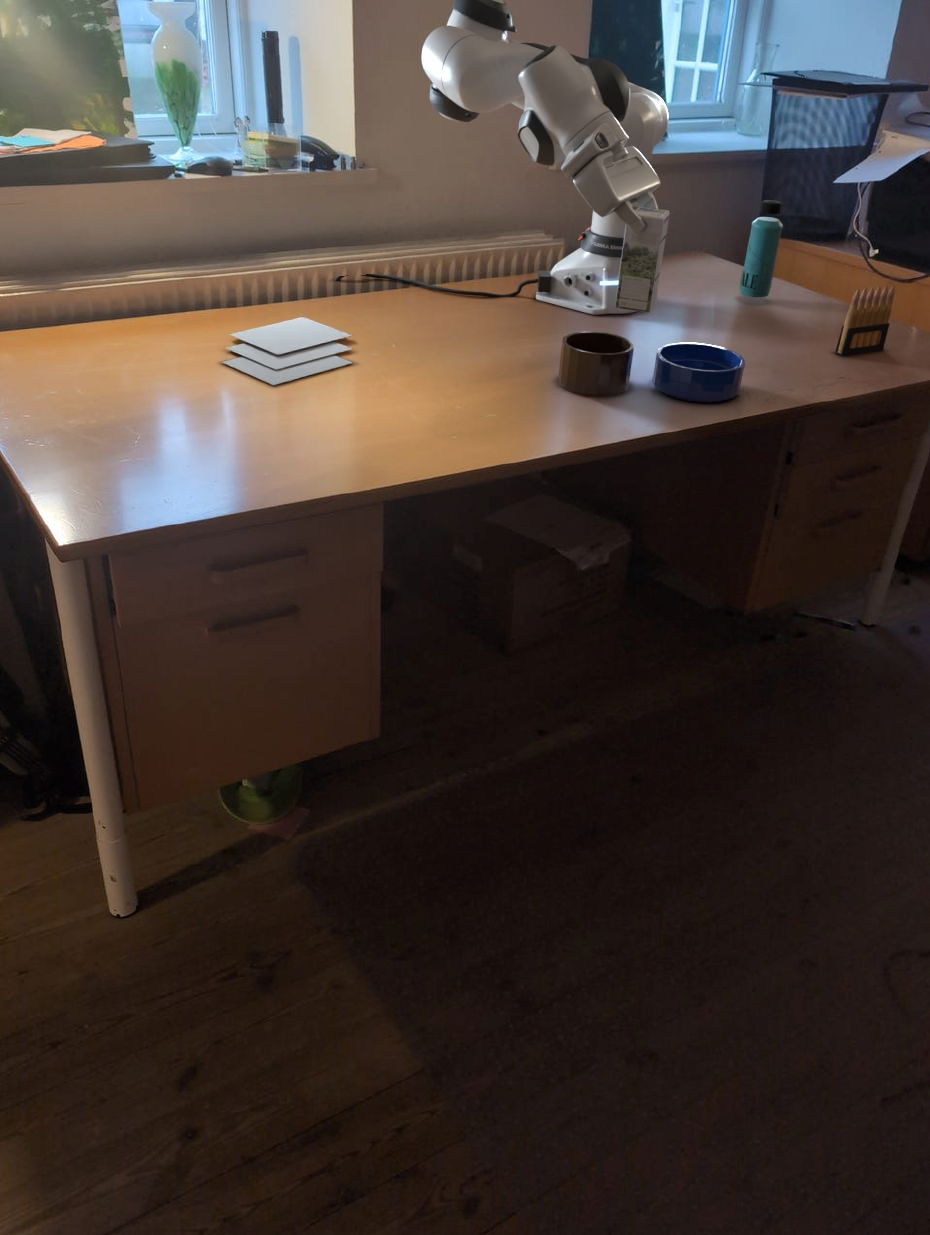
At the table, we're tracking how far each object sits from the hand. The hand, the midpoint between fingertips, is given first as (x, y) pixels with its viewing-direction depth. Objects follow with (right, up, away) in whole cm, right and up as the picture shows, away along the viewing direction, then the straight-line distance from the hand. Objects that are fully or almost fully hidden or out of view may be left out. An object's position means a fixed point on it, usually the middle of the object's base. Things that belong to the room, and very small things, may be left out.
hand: (650, 226), depth 153 cm
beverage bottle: (+33, +8, +62) cm, 70 cm away
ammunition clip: (+46, -10, +35) cm, 59 cm away
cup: (-7, -21, +14) cm, 26 cm away
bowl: (+10, -21, +14) cm, 28 cm away
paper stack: (-59, -14, +20) cm, 63 cm away
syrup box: (-1, -10, +7) cm, 13 cm away
